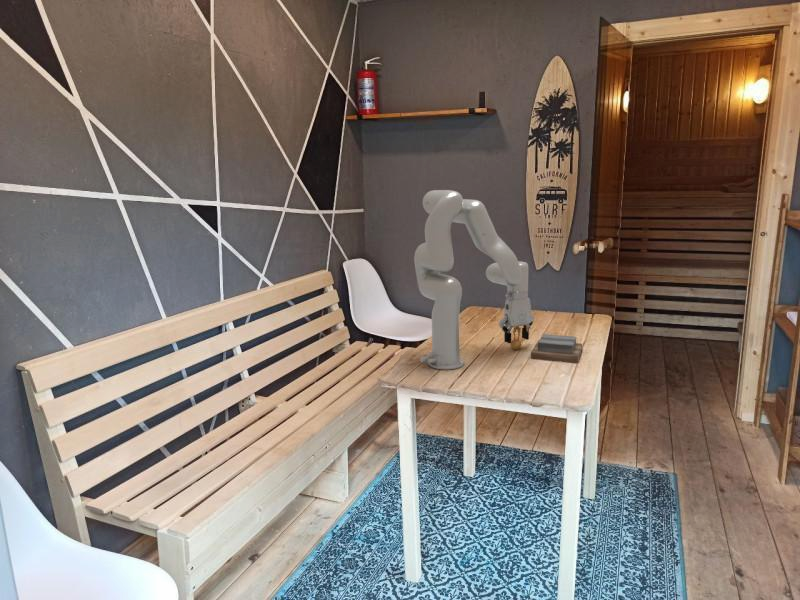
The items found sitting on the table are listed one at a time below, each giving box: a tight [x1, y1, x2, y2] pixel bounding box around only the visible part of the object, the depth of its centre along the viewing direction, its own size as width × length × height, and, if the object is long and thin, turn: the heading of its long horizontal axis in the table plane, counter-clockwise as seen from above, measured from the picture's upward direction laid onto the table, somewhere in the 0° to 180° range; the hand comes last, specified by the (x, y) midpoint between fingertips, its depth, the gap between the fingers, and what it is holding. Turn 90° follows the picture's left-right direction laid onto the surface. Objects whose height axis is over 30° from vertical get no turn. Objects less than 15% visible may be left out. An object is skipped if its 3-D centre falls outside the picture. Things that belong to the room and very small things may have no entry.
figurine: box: [510, 325, 528, 351], centre depth 212 cm, size 8×6×12 cm
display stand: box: [530, 333, 583, 364], centre depth 205 cm, size 16×16×6 cm
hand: (516, 340), depth 212 cm, fingers open, 7 cm apart
